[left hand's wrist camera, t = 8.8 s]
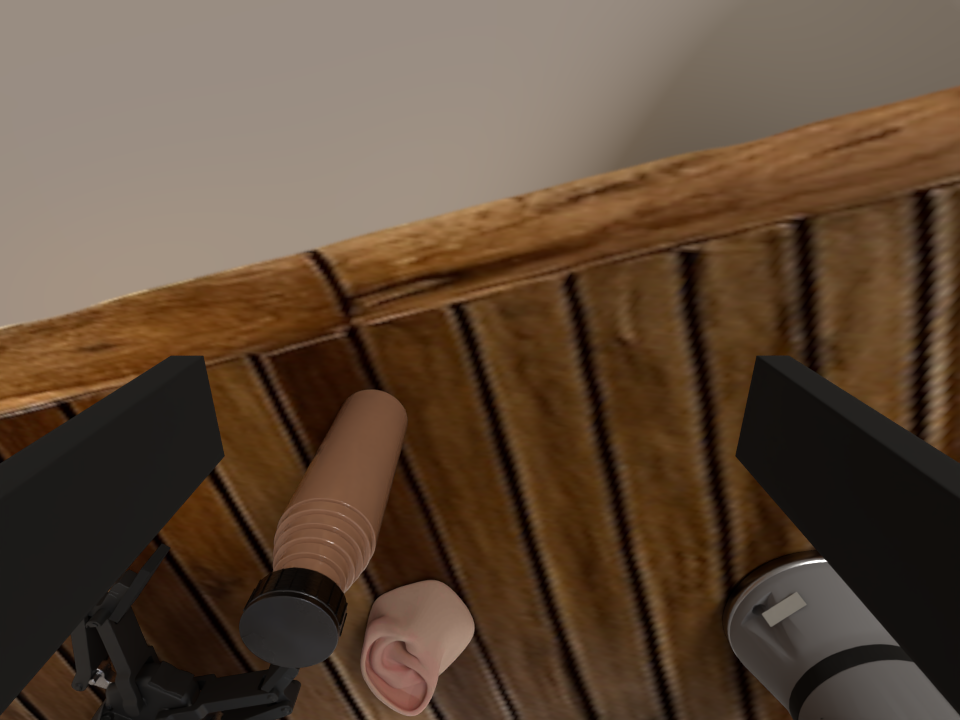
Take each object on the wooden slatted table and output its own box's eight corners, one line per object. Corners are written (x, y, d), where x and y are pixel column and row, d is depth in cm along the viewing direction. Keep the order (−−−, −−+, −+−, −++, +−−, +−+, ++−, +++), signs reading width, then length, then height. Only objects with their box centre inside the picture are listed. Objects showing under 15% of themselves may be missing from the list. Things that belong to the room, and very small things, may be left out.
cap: (304, 550, 24) (291, 579, 22) (367, 610, 26) (359, 642, 24) (234, 593, 25) (216, 624, 23) (298, 649, 27) (286, 681, 25)
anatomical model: (412, 596, 45) (505, 661, 48) (417, 563, 48) (503, 624, 51) (320, 673, 48) (411, 729, 51) (331, 636, 52) (416, 690, 55)
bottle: (378, 376, 41) (295, 560, 23) (421, 427, 43) (377, 636, 24) (325, 412, 43) (204, 615, 24) (369, 460, 44) (288, 684, 26)
